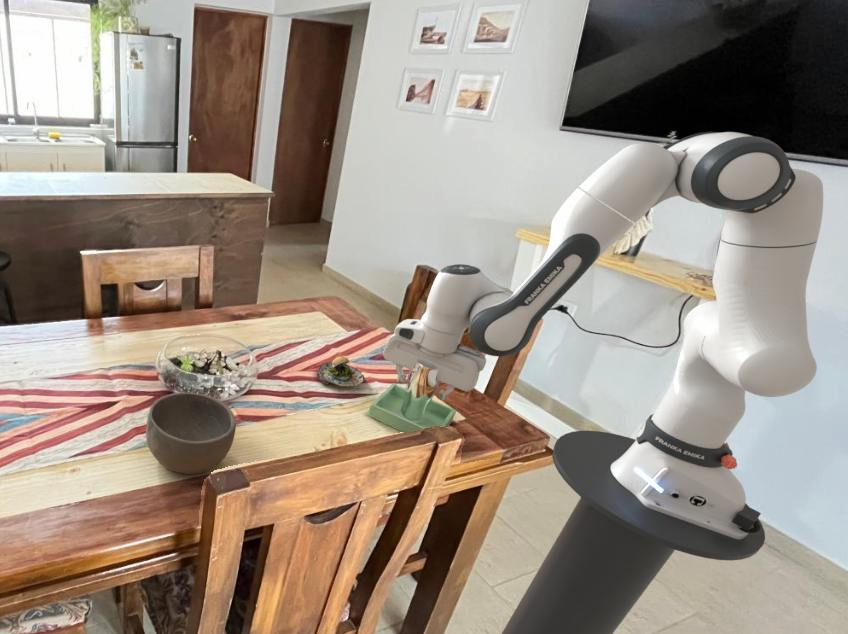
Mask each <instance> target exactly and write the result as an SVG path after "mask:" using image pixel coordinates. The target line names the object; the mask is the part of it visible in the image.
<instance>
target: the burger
mask: <svg viewBox="0 0 848 634" xmlns="http://www.w3.org/2000/svg"><path fill="white" fill-rule="evenodd" d="M349 363H350V359H349V358H348V357H346V356H343V355H342V356H341V355H339V356H337V357H335V358H334V359H333V360H332V361H329V362H328V361H327V362H325V363H322V364H320V366H319V367H318V371H317V373H316V376H317V378H318V380H319V381H320V382H321V383H322V384H323V385H324V386H327V385H328V384H332V385H334V386H338V387H343V388H346V387H348V388H349V387H350V388H351V387H355V386H360V385H361V384H362V383H363V382H364V381H365V380H366V379H365V378H366V377H365V376H364V374H362V372H361V371H360V370H359V369H358V368H356V367H354V366H351V365H350V364H349ZM348 364H349V365H348Z"/></svg>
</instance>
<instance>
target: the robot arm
mask: <svg viewBox="0 0 848 634" xmlns="http://www.w3.org/2000/svg"><path fill="white" fill-rule="evenodd" d="M674 197H681V198H683V199H685V200H687V201H689V202H693V203H696V204H697V203H698V204H703V205H706V206H707V207H710V208H713V209H718V210H723V214H724V222H723V223H724V224H723V227H722V231H721V235H720V239H719V244H718V249H717V254H716V259H715V265H714V269H713V274H712V280H711V281H712V282H711V283H712V287H713V290H714V293H715V300H710V301H706V302H703V303H701V304H699V305H697V306H695V307H694V308H692V309H691V310H690V311H689V312H688V313H687V315H686V316H685V318H684V321H683V325H682V328H683V341H682V345H681V348H680V353H679V356H678V360H677V363H676V368H675V371H674V374H673V377H672V380H671V382H670V385H669V387H668V389H667V391H666V392H665V394H664V395H663V397H662V399H661V401H660V402H659V404H658V406H657V408H656V409H655V411H654V413H652V414H650V415H649V416H647V417H648V418H647V419H646V420H645V421H644V422H643V424H642V426H641V427H640V428H639V431H638V432H637V434H636V439H635V440H636V441H635V442H634V443H633V444H632V446H631V447H630V448H629V449H628V450H627V451H626V452H625V453H624V454H623V455H622V456H621V457H620V458H619V459H617V460H616V461H615V462H613V463H612V464H611V472H612V474H613V476H614V477H615V478H616V479H617V481H618V482H619V483H620V484H622V485H623V486H624V487H625V488H626V489H628V490H629V491H630V492H632V493H633V494H634V495H635V496H636V497H637V498H638V499H639V500H640V501H641V502H642V503H643V504H644V505H645V506H646V507H648V508H650V509H652V510H655V511H658V512H661V513H664V514H667V515H669V516H672V517H675V518H678V519H681V520H684V521H686V522H689V523H692V524H695V525H698V526H701V527H703V528H706V529H709V530H712V531H715V532H718V533H721V534H723V535H726V536H729V537H732V538H735V539H743V538H745V537H746V536H747V535H748V533H755V532H758V531H759V530H760V525H759V522H758V521H756V520H757V519H759V517H760V516H761V514H762V513H761V512H759V511H758V510H756V509H754V508H752V507H750V506H749V505H748V506H749V507H748V506H746V505H745V503H746V502H747V501H746V499H747V497H746V492H745V488H744V487H743V486H744V485H742V483H741V481H740V480H739V479H738V478H737V477H736V475H735V474H734V473H733V472H732V470H733V469H736V468H737V467H738V463H737V462H738V461H737V459H736V457H734V456H733V454H734V453H733V450H732V449H731V448H730V445H729V443H728V442H726V441H727V439H728V438H729V437H730V435H731V434H732V432H733V431H734V430H735V428H736V427H737V425H738V424H739V423H740V421H741V420H742V418H743V417H744V415H745V413H746V392H748V393H751V394H752V395H755V396H758V397H765V398H766V397H767V398H777V397H785V396H788V395H792V394H795V393H797V392H799V391H801V390H802V389H804V388H806V387H807V386H808V385H809V384H811V382H812V381H813V379H814V378H815V377H816V374H817V369H818V367H817V361H816V359H815V356H814V355H813V352H812V349H811V346H810V343H809V337H808V320H807V319H808V318H807V301H806V300H807V299H806V296H807V284H808V279H809V275H810V271H811V267H812V266H811V265H812V263H813V259H814V255H815V251H816V248H817V243H818V240H819V235H820V232H821V227H822V220H823V213H824V183H823V181H822V180H821V178H820V177H818V175H817V174H814V173H813V172H810V171H807V170H803V169H798V168H792V166H791V164H790V161H789V158H788V156H787V154H786V152H785V151H784V150H783V149H782V148H781V147H780V146H779V145H778V144H777V143H775V142H774V141H772V140H770V139H767V138H765V137H761V136H755V135H751V134H747V133H743V132H737V131H736V132H735V131H724V132H719V131H705V132H704V131H703V132H698V133H697V132H696V133H693V134H691V135H688V136H685V137H683V138H681V139H678V140H675V141H674V142H672V143H670V144H667V145H664V146H661V145H659V144H656V143H651V142H637V143H632V144H630V145H628V146H626V147H623V149H621V150H619V152H617V153H616V154H614V155H613V156H611V157H610V158H609V159H608V160H606V161H605V162H604V163H603V164H601V166H599V167H598V168H597V169H596V170H594V171H593V172H592V173H591V174H590V175H589V176H588V177H587V178H586V179H585V180H584V181H583V182H582V183H581V184H580V185H579V186H578V187H577V188H576V189H575V190H574V191H572V193H571V194H570V195H569V196H568V197H567V199H565V201H564V202H563V203H562V205H561V207H559V209H558V211H556V213H555V215H554V216H553V218H552V220H551V224H550V235H549V241H548V247H547V250H546V252H545V255H544V257H543V259H542V260H541V261H540V263H539V264H538V265H537V267H536V268H535V269H534V270H533V271H532V272H531V273H530V274H529V275H528V277H527V278H525V280H524V281H523V282H522V283H521V284H520V285H519V286H518V287H517V288H516V290H514V291H512V290H511V289H509V288H506V287H504V286H501V285H499V284H498V283H496V282H495V281H493V280H491V279H490V278H489V277H487V276H486V275H485V274H484V272H482V270H481V269H480V268H479V267H477V266H473V265H469V264H463V263H462V264H461V263H460V264H458V263H457V264H451V265H447V266H445V267H443V268H442V269H441V270H439V271H438V272H437V274H436V277H434V280H433V283H432V286H431V288H430V291H429V293H428V296H427V300H426V310H425V312H424V313H423V315H422V316H421V319H416V318H414V319H413V318H407V319H404V320H402V321H400V322H399V323H397V325H396V327H395V328H394V331H393V332H394V333H393V334H392V335H391V336H389V337H388V340H387V342H386V344H385V345H384V347H383V351H382V356H383V359H384V360H385V361H388V362H390V363H393V364H395V367H394V368H395V370H396V374H397V377H396V378H397V379H396V382H397V383H400V384H404V383H405V382H406V381H407V377H408V374H406V373H404V368H405V369H408V370H409V371H410V370H411V368H412V366H413V364H414V362H415V360H417V361H418V362H419V363H420V364H422V365H424V366H426V367H430V368H435V369H440V370H439V373H438V377H437V380H438V381H440V382H441V383H443V384H446V385H447V386H446V390H444V389H440V391H439V392H438V393H437V394H438V395H437V400H440V401H445V400H446V399H447V397H448V395H449V394H450V393H452V392H453V391H454V390H455V389H458V390H461V391H463V392H465V393H468V392H471V391H473V390H474V389H475V387H476V385H477V383H478V381H479V377H480V373H481V372H482V371H483V370H484V369H485V366H486V364H487V358H486V356H485V355H488V356H491V357H499V358H500V357H509V356H513V355H515V354H517V353H519V352H521V351H522V350H524V349H525V347H526V346H527V345H528V344H529V343H530V341H531V339H532V337H533V334H534V333H535V332H534V331H535V330H536V327H537V326H538V323H539V322H540V321H541V319H542V318H543V317H544V316H545V315H546V314H547V313H548V312H549V311H550V310H551V309H552V308H553V307H554V306H555V305H556V303H558V301H559V300H560V299H561V298H562V297H563V296H565V294H567V292H568V291H569V290H570V289H571V288H572V287H573V286H574V285H575V284H576V283H577V282H578V281H579V280H580V278H581V277H582V276H583V275H584V274H586V272H587V271H588V270H589V268H590V267H592V265H593V264H595V262H596V261H598V260H599V258H600V257H601V256H602V255H603V254H604V253H605V252H607V250H608V249H609V248H610V247H611V246H613V245H614V244H615V243H616V242H617V241H618V240H619V239H621V237H622V236H624V235H625V234H626V233H627V232H628V231H629V230H630V229H631V228H632V227H633V226H634V225H635V224H637V223H638V222H639V221H640V220H641V219H642V218H643V217H644V216H645V215H646V214H647V213H648V212H649V211H650V210H651V209H653V208H654V207H656V206H657V205H659V204H661V203H663V201H666V200H669V199H670V198H674ZM466 329H469V338H470V341H471V343H472V345H473V346H474V347H475V348H476V349H474V348H471V347H469V346H466V345H463V344H461V342H462V341H461V340H462V338H463V337H464V333H465V331H466ZM484 354H485V355H484ZM752 525H754V527H753V528H751V527H752Z"/></svg>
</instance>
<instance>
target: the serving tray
mask: <svg viewBox="0 0 848 634" xmlns="http://www.w3.org/2000/svg"><path fill="white" fill-rule="evenodd" d="M405 393H406V387H403V386H401V385H399V384H396V383H394V382H393V383H391V384H390V385H389V386H388V387H387V388H386V389H385V390H384V391H383V392H382V393H381V394H380V395H379V396H378V397H376V399H375V400H374V401H373V402H372V403H371V404H370V407H369V410H368V413H367V416H369V417H370V418H373V419H374V420H376V421H379V422H382V423H383V424H385V425H387V426H389V427H391V428H393V429H396V430H398V431H400V432H402V433H404V434H406V433H410V432H414V431H418V430H421V429H423V428H427V427H433V426H440V427H448V428H449V426H450V425H451V424H452V422H453V421H454V419H455V415H456V413H457V409H455V408H452V407H449V406H447V405H445V404H443V403H440V402H438V401H435V400H434V399H432V400H431V402H430V403H429V405H428V407H427V411H426V418H425V421H424V422H423V423H420V424H416V423H414V422H412V421H410V420H407V419H405V418H403V417H401V416H399V413H398V411H399V409H400V407H401V406H402V404H403V402H404V398H405Z"/></svg>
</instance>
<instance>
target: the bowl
mask: <svg viewBox="0 0 848 634" xmlns="http://www.w3.org/2000/svg"><path fill="white" fill-rule="evenodd" d="M236 428H237V422H236V417H235V414H234V413H233V411H232V410H231V408H230V407H229V406H228V405H227V404H225V403H224V402H222V401H221V400H219V399H217V398H215V397H212V396H210V395H208V394H202V393H199V392H198V393H197V392H190V391H189V392H185V391H184V392H183V391H181V392H174V393H170V394H166V395H163V396H161V397H159V398H157V400H155V401H154V402H153V403H152V404H151V406H150V408H149V411H148V415H147V418H146V428H145V438H146V445H147V447H148V449H149V451H150V453H151V455H153V457H154V458H155V459H156V461H157V462H158V463H159V464H160V465H161V466H163V467H164V468H165V469H167V470H170V471H172V472H176V473H180V474H186V475H195V474H202V473H206V472H209V471H210V470H212V469H214V468H215V467H218V465H219V464H221V462H222V461H223V460H224V459H225V458H226V456H227V455H228V454H229V452H230V450H231V448H232V445H233V443H234V439H235V435H236Z"/></svg>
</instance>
